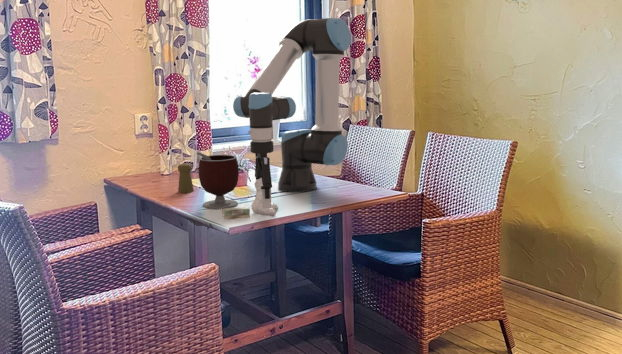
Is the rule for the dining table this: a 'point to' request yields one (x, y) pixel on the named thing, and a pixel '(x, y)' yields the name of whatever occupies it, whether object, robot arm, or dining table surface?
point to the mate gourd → (218, 178)
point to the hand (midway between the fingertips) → (263, 203)
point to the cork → (185, 178)
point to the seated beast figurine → (258, 202)
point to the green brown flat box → (236, 213)
